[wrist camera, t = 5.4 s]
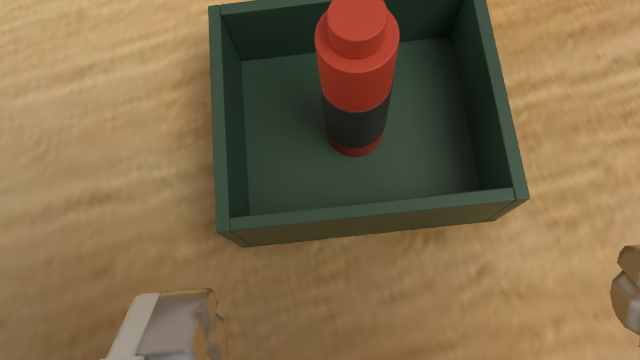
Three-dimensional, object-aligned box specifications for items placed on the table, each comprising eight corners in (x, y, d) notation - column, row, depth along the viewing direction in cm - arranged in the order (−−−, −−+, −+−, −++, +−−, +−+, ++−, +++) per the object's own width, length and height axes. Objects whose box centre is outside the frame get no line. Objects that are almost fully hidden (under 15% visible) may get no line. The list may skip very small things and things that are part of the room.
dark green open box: (242, 247, 25) (215, 232, 20) (232, 58, 28) (207, 5, 23) (495, 220, 24) (530, 199, 19) (457, 31, 27) (480, -29, 22)
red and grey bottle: (329, 161, 25) (314, 61, 15) (324, 107, 26) (306, -21, 16) (387, 154, 25) (411, 49, 15) (380, 101, 26) (397, -32, 16)
